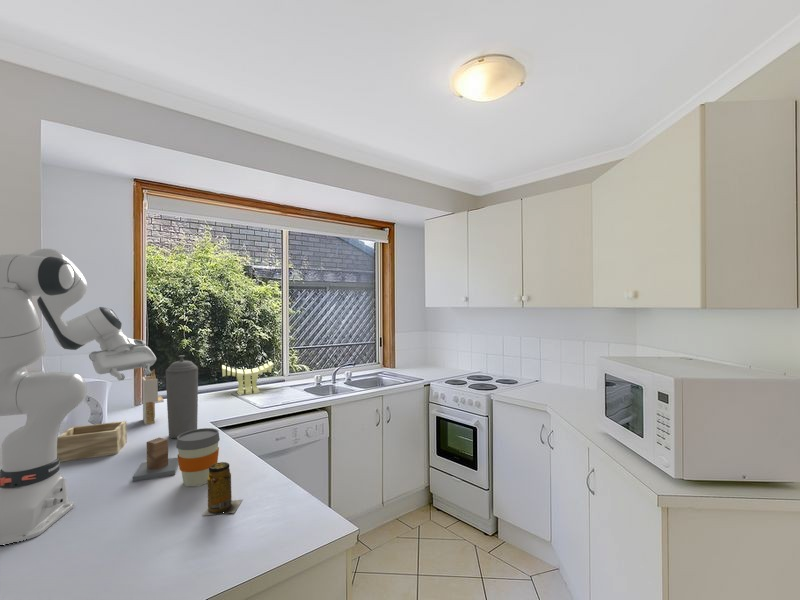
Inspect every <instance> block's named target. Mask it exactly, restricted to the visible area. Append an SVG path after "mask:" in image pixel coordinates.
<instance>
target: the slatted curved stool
mask: <svg viewBox="0 0 800 600" xmlns="http://www.w3.org/2000/svg"><path fill="white" fill-rule="evenodd" d="M272 369H274V363H273V362H272V361H268V362H267V363H264V364H263V365H260V366H258V367H254V368H251V369H249V368H248V369H239V368H236V369H235V368H231V367H229V366H227V367H226V365H224V364H222V365H221V371H222V375H221V376H222V378H223V377H226V376H229V377H230V376H232V377H236V380H237V382H238V386H237V390H236V394H237V393H238V394H244V395H252V394H260V390H259V388H258V386H257V382H258V378H259V375H261V374H263V373H272Z"/></svg>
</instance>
